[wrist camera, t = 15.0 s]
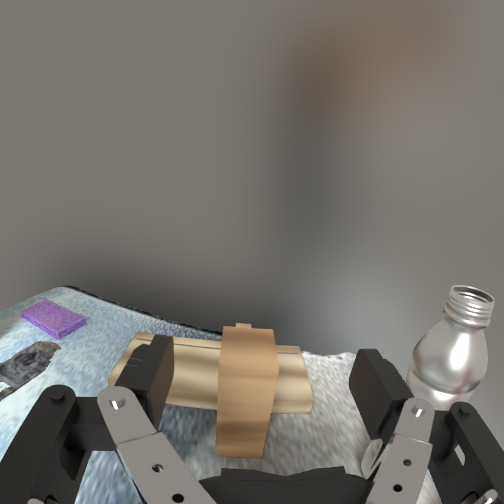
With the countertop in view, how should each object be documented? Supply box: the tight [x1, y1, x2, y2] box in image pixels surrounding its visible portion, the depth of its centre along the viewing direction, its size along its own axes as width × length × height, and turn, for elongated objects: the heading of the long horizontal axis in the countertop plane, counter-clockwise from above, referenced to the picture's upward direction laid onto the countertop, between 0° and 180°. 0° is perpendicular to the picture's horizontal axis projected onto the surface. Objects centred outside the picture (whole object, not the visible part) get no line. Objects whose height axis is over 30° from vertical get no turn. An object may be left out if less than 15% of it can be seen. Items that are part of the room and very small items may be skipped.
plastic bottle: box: [361, 285, 495, 477], centre depth 18 cm, size 6×7×20 cm
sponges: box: [21, 300, 86, 340], centre depth 43 cm, size 7×13×2 cm, turn 73°
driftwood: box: [0, 341, 61, 400], centre depth 27 cm, size 21×7×2 cm, turn 165°
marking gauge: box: [216, 323, 279, 458], centre depth 31 cm, size 18×4×12 cm, turn 1°
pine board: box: [108, 332, 314, 413], centre depth 36 cm, size 12×24×2 cm, turn 91°
